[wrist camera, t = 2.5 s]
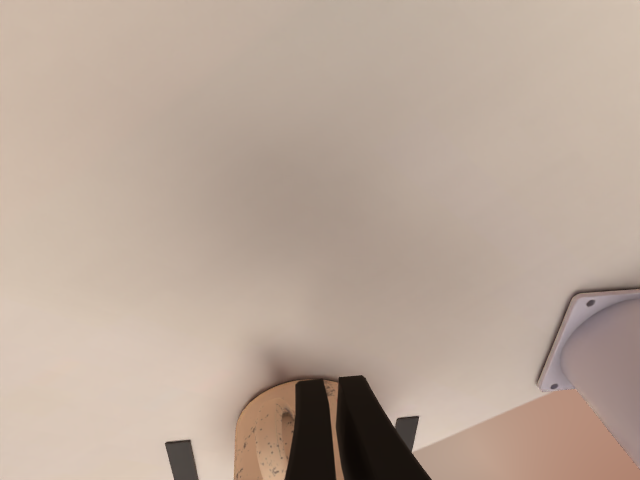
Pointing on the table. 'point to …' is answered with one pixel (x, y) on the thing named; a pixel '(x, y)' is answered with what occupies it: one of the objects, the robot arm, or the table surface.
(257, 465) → the teacup with lid
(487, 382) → the table surface
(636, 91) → the table surface
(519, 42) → the table surface
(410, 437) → the tape marks
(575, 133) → the table surface
